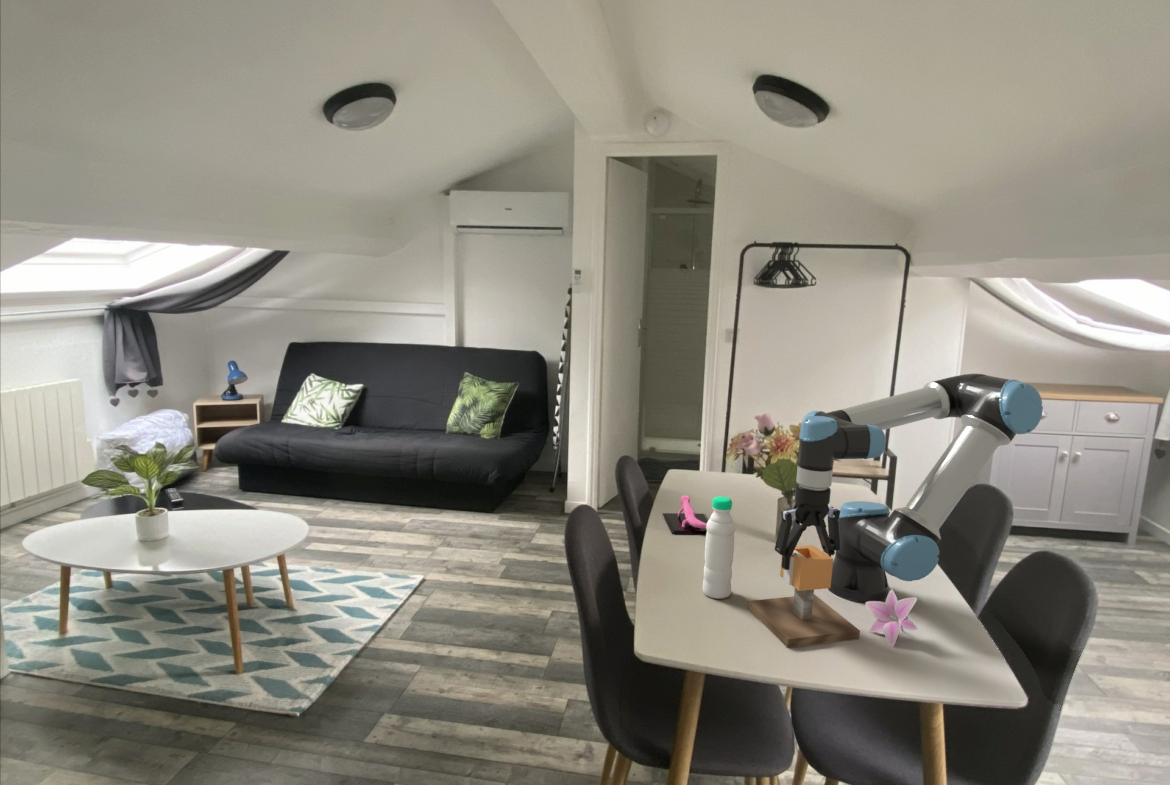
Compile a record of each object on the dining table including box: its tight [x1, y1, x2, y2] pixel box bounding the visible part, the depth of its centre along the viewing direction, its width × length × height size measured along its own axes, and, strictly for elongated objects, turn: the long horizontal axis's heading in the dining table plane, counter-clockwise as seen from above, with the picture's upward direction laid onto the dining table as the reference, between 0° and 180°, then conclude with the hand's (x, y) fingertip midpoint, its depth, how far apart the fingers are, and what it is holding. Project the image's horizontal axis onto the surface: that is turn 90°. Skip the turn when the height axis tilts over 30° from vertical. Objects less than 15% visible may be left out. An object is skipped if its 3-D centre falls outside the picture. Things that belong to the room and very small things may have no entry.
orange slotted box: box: [779, 544, 834, 591], centre depth 158 cm, size 8×8×7 cm
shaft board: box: [747, 588, 861, 648], centre depth 160 cm, size 18×18×12 cm
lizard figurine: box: [661, 495, 710, 536], centre depth 223 cm, size 15×20×7 cm
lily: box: [864, 589, 918, 648], centre depth 156 cm, size 12×12×10 cm
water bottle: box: [702, 496, 736, 600], centre depth 172 cm, size 7×7×25 cm
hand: (804, 580), depth 159 cm, fingers closed on orange slotted box, 8 cm apart
